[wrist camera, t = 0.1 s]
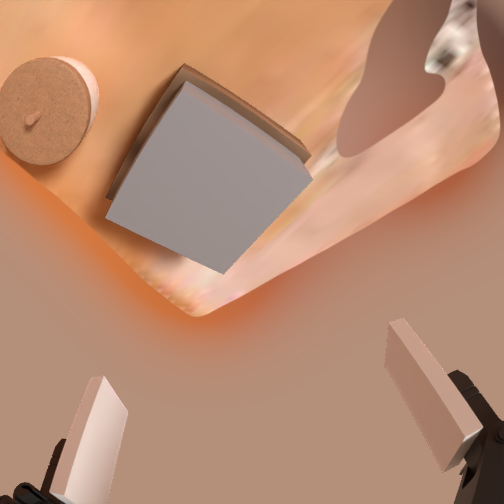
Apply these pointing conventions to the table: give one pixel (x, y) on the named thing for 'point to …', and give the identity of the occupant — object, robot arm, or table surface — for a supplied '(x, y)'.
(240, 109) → the tower base
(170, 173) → the grey square slab
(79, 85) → the lidded jar
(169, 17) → the table surface
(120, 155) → the table surface
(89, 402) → the robot arm
